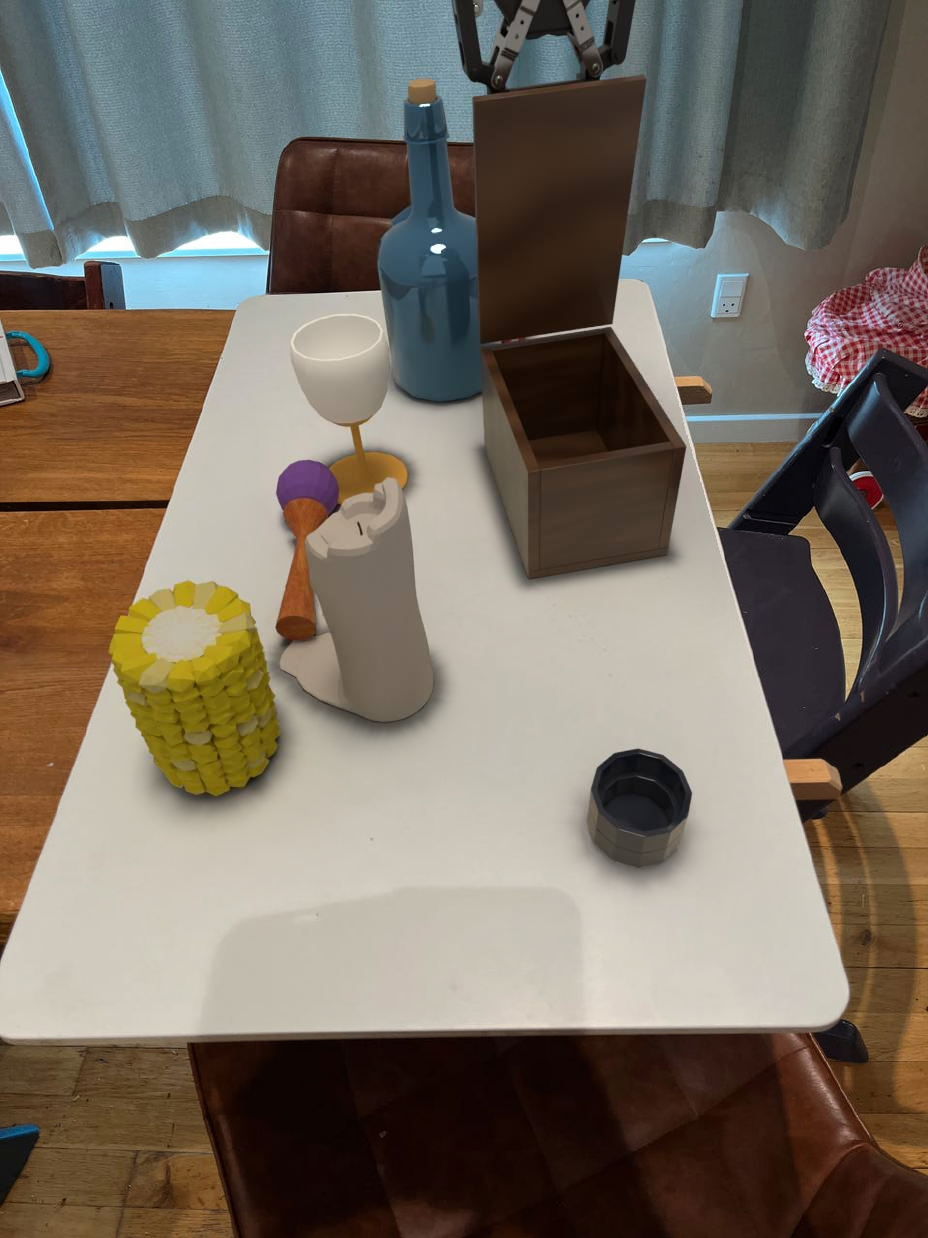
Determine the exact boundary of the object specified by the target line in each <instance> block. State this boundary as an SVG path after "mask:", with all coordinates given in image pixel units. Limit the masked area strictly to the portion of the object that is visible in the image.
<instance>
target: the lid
mask: <svg viewBox="0 0 928 1238" xmlns="http://www.w3.org/2000/svg"><path fill="white" fill-rule="evenodd" d="M646 86H647V77H646V76H645V74H638V75H630V76H623V77H614V78H606V79H600V80H598V81H590V82H584V80H583V79H576V78H575V79H567V80H559V81H550V82H543V83H536V84H528V85H520V86H512V87H507V88H508V89H509V92H505V93H497V94H490V95H487V94H483V95H475V96H471V99H472V100H471V101H472V103H471V104H472V105H471V106H472V139H473V140H472V141H473V143H472V144H473V177H474V178H473V179H474V183H473V184H474V213H475V214H474V216H475V217H474V218H475V222H476V260H477V299H478V338H479V342H480V344H485V343H492V342H498V341H501V342H502V341H505V340H512V339H518V338H525V337H526V338H531V337H537V336H538V337H539V336H543V335H544V336H545V335H550V334H551V335H552V334H557V333H563V332H571V331H576V330H583V329H589V328H596V327H604V326H609V325H613V324H614V317H615V311H616V309H615V308H616V303H617V302H616V301H617V295H618V288H619V281H620V274H621V268H622V267H621V266H622V259H623V253H624V252H623V251H624V245H625V239H626V238H625V237H626V232H627V224H628V223H627V222H628V216H629V210H630V209H629V208H630V201H631V194H632V188H633V181H634V173H635V166H636V158H637V153H638V152H637V151H638V145H639V137H640V130H641V124H642V123H641V122H642V115H643V109H644V102H645V94H646V88H647V87H646ZM526 338H525V339H526Z"/></svg>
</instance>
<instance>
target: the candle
mask: <svg viewBox="0 0 928 1238" xmlns="http://www.w3.org/2000/svg"><path fill="white" fill-rule="evenodd" d="M408 508H409V507H408V504H407V500H406V497H405V494H404V490H403V489H402V488H401V485H400V484H399V483H398V481H397V480H396V479H395V478H389V477H387V478H386V479H385V480H384V481H383V482H382V483H379V484H376V485H375V488H374V492H373V493H363V494H358V495H355V496H352V497H350V498H348V499H345V501H344V502H343V503H342V505H340V508H339V510H338V511H335V512H334V513H332V514H330V515H329V516H328V519H327V520H326V521H325V522H324V523H323V524H322V525H321V526H320V527H318V528H317V529H316V530H315V531H314V532H312V533H310V534H309V535H308V536H307V537H306V539H305V551H306V556H307V560H308V564H309V577H310V586H311V588H312V590H313V594H315V596H316V597H317V600H318V603H319V606H320V609H321V612H322V615H323V617H324V620H325V622H326V625H327V628H328V630H329V632H326V633H323V634H321V635H312V636H311V637H310V638H307V639H305V640H291V642H290V644H289V645H288V646H287V647H286V648H285V649H284V651H283V653H282V655H281V657H280V660H279V667H280V669H281V670H283V671H284V672H286V673H288V674H289V675H291V676H293V677H295V678H296V680H297V682H298V684H299V685H300V686H301V687H302V689H303V690H304V692H306V693H308V694H309V695H310V696H312V697H313V698H315V699H317V700H318V701H320V702H323V703H325V704H328V705H331V706H332V707H335V708H339V709H341V710H345V711H347V712H350V713H354V714H356V715H358V716H359V717H362V718H364V719H366V720H370V721H374V722H380V723H386V722H387V723H390V722H397V721H400V720H403V719H406V718H408V717H410V716H412V715H414V714H416V713H418V711H420V710H421V709H422V708H423V707H424V706H425V705H426V703H427V702H428V701H429V700H430V697H431V696H432V693H433V690H434V685H435V684H434V682H435V681H434V674H433V673H434V672H433V667H432V660H431V655H430V648H429V647H430V645H429V642H428V637H427V633H426V628H425V626H424V622H423V618H422V615H421V611H420V607H419V601H418V596H417V587H416V575H415V573H416V572H415V560H414V545H413V537H412V527H411V522H410V515H409V509H408Z"/></svg>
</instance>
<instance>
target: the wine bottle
mask: <svg viewBox="0 0 928 1238" xmlns="http://www.w3.org/2000/svg"><path fill="white" fill-rule="evenodd" d="M407 95H408V97H407V98H406V99H404V100H403V135H402V139H403V142H404V143H405V144H406V153H407V154H406V155H407V156H406V157H407V169H408V183H409V195H410V197H409V198H410V205H409V206H407V207H405V208H404V209H403V210H402V211H400V212H399V213H398V214H397V215H396V216H394V217H393V218H392V219H391V221H390V228H389V229H388V230H387V231H386V232H384V234H383V235H382V237H381V238H380V240H379V243H378V245H377V248H376V254H375V255H376V256H375V257H376V264H377V265H376V266H377V272H378V279H379V285H380V292H381V300H382V307H383V313H384V318H385V319H384V320H385V327H386V335H387V342H388V346H389V354H390V362H391V367H392V375H393V381H394V382H395V383H396V384H397V386H398V387H399V388H400V389H402V390H403V391H404V392H406V393H407V394H409V395H410V396H412V397H413V398H417V399H422V400H428V401H434V402H439V403H440V402H447V401H455V400H461V399H462V400H463V399H469V398H470V397H472V396H474V395H476V394H479V393H481V392H482V383H481V364H480V346H486V345H494V344H501V343H502V341H498V342H492V343H485V344H480V342H479V338H478V299H477V260H476V222H475V217H474V216H472V215H470V214H468V213H466V212H463V211H460V210H458V209H457V207H456V206H455V205H454V196H453V186H452V178H451V177H452V176H451V167H450V156H449V148H448V139H449V138H450V133H449V129H448V125H447V119H446V113H445V107H444V101H443V98H442V96H441V95H438V94H437V84H436V81H435V80H433V79H430V78H416V79H414V80H410V81H409V82H408V84H407Z"/></svg>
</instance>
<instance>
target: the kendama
mask: <svg viewBox="0 0 928 1238" xmlns="http://www.w3.org/2000/svg"><path fill="white" fill-rule="evenodd" d="M329 468H330V467H329V466H327V465H325V464H323V463H322V462H320V461H317V460H312V459H300V460H296V461H294V462H292V463H290V464H288V466H287V467H286V468H284V470H283V471H282V472H281V473H280V475H279V476H278V479H277V484H276V490H275V491H276V492H275V495H276V498H277V501H278V504H279V506H280V508H281V509H282V515H283V518H284V520H285V522H286V524H287V526H288V527H289V529H290V531H291V533H292V534H293V536H294V538H295V540H296V544H295V548H294V553H293V557H292V560H291V564H290V568H289V572H288V577H287V580H286V584H285V588H284V591H283V594H282V599H281V603H280V608H279V612H278V616H277V619H276V624H275V630H276V633H277V634H278V635H279V636H281V637H282V638H284V639H286V640H290V641H293V640H305V639H307V638H310V637H311V636H312V635H314V634H315V633H316V630H317V625H316V624H317V623H316V610H315V597H314V592H313V590H312V588H311V586H310V577H309V564H308V560H307V556H306V551H305V539H306V537H307V536H308V535H309V534H310V533H312V532H314V531H315V530H316V529H317V528H318V527H320V526H321V525H322V524H323V523H324V522H325V521H326V520H327V519H328V518H329V516H330V515H331V513H332V512H333V511H334V510H335V508H336V507H337V505H338V504H337V501H338V498H339V487H338V482H337V479H336V478H335V476H334V475H333V473H332V472H331V471H330V470H329ZM314 636H315V635H314Z"/></svg>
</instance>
